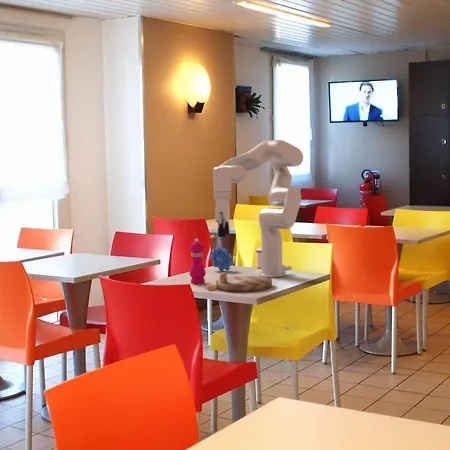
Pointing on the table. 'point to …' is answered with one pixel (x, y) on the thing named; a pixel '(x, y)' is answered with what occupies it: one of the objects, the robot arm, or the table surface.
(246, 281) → the disc
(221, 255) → the blue lumpy piece
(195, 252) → the pepper mill
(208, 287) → the block
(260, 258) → the teacup with lid
